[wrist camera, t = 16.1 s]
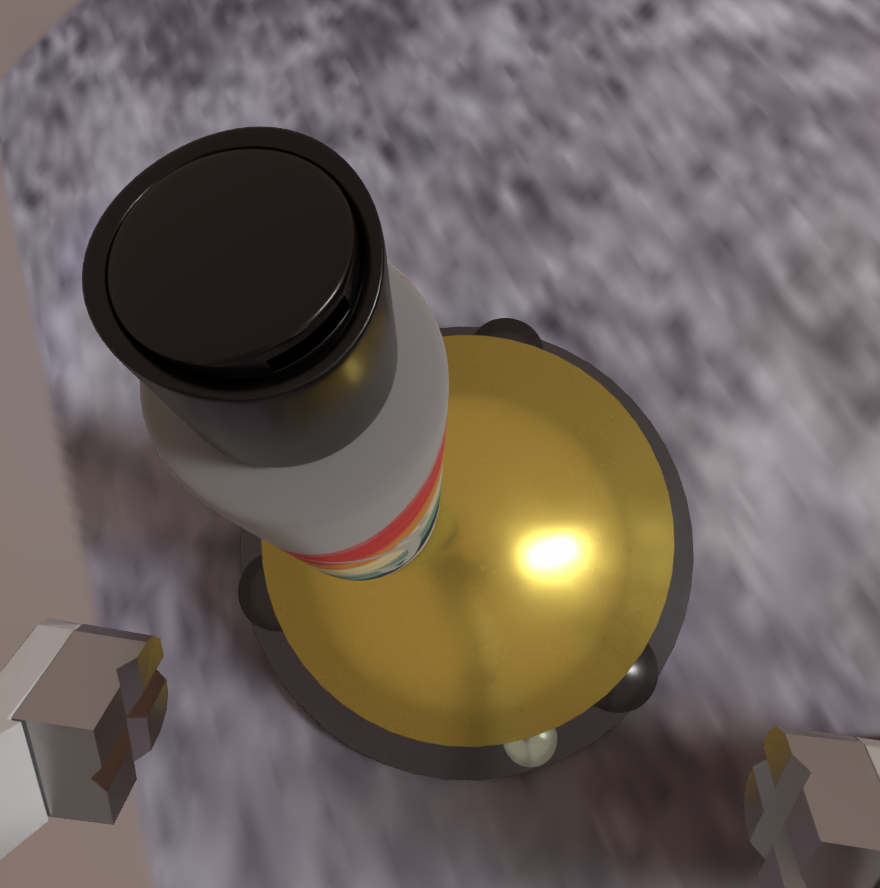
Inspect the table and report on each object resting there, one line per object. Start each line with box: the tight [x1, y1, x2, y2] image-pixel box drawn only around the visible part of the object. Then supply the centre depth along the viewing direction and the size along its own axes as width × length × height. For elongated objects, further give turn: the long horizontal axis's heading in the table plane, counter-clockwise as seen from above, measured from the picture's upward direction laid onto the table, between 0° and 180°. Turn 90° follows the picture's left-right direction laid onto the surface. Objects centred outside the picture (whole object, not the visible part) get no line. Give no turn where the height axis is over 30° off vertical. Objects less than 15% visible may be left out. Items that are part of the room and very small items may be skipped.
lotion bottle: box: [82, 127, 449, 581], centre depth 19 cm, size 6×6×20 cm
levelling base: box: [238, 318, 693, 780], centre depth 30 cm, size 18×18×3 cm
